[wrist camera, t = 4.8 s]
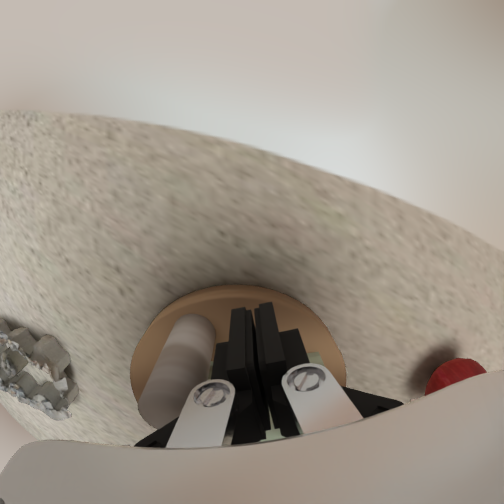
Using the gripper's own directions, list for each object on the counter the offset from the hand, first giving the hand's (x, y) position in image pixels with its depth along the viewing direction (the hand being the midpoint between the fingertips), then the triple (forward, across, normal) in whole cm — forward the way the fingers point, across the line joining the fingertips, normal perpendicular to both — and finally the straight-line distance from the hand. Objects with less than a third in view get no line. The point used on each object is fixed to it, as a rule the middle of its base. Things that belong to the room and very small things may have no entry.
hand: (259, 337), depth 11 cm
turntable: (+5, +2, +6) cm, 8 cm away
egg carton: (+6, +21, +4) cm, 22 cm away
